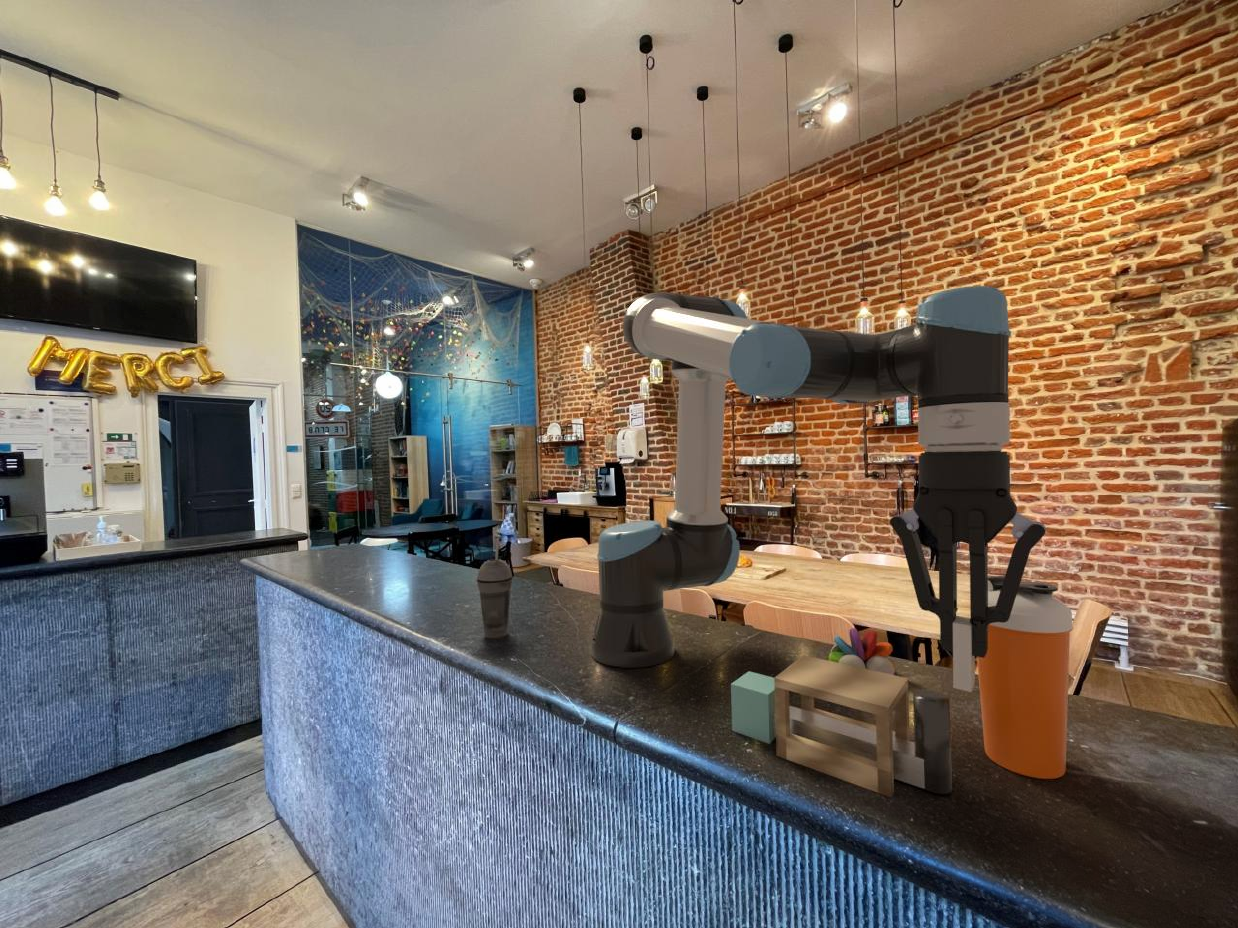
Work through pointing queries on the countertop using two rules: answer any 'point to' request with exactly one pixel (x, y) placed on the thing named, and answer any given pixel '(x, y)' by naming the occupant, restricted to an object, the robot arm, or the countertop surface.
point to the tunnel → (843, 718)
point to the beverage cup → (495, 595)
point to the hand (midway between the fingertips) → (964, 684)
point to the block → (753, 706)
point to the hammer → (911, 760)
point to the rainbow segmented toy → (863, 652)
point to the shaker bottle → (1027, 682)
